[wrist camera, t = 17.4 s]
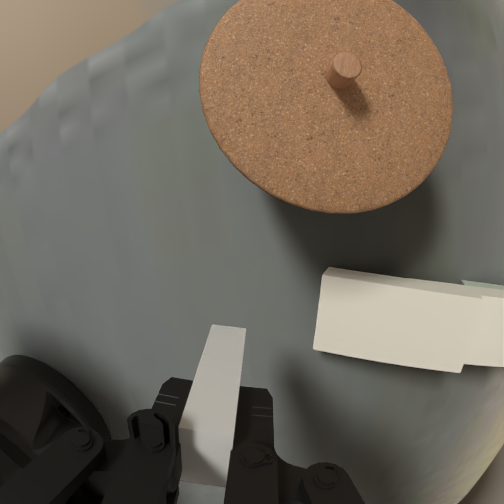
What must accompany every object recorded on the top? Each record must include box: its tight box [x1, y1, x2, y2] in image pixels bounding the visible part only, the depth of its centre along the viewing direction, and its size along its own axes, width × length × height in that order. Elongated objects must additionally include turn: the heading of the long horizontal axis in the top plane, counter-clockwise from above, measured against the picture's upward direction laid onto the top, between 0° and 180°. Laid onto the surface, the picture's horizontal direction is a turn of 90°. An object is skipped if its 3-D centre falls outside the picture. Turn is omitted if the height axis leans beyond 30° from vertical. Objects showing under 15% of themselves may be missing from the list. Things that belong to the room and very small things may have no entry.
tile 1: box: [313, 267, 483, 373], centre depth 18 cm, size 2×5×10 cm
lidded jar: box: [199, 0, 453, 214], centre depth 14 cm, size 11×11×9 cm
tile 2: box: [407, 278, 504, 367], centre depth 18 cm, size 2×5×10 cm
